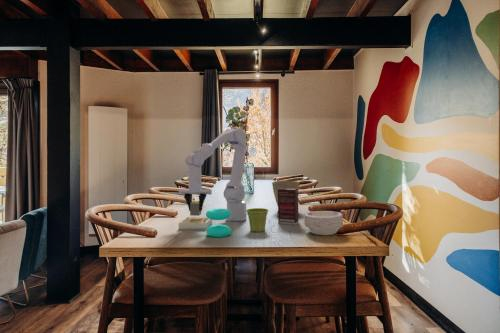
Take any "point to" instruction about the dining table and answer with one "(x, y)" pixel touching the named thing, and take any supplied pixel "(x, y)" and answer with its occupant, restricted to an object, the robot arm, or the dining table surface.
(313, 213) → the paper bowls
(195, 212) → the connector
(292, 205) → the supplement box
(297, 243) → the dining table surface
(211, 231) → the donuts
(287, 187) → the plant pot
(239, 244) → the dining table surface
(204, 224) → the walled box
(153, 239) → the dining table surface
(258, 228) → the plant pot
